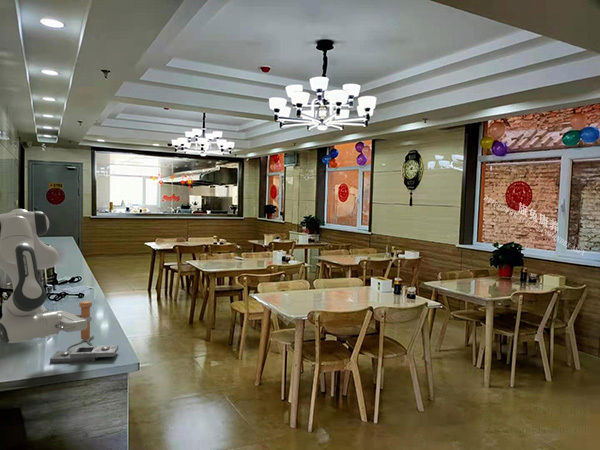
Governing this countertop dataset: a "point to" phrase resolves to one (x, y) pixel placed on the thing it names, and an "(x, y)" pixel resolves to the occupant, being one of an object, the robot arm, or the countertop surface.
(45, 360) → the countertop surface
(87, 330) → the pin
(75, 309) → the countertop surface
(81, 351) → the grey latch
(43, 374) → the countertop surface
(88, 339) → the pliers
